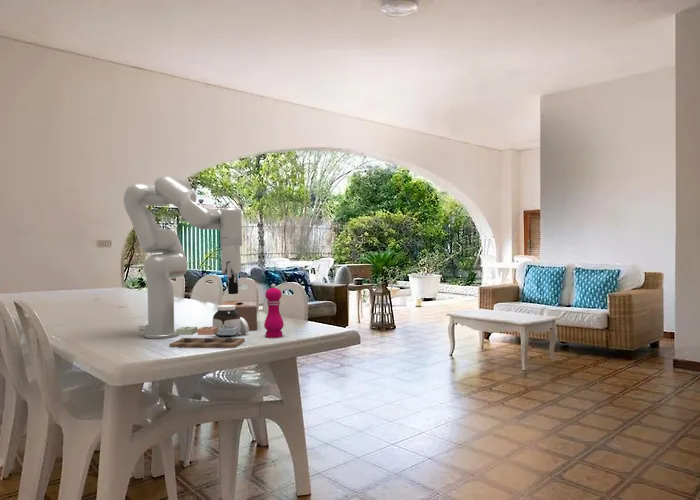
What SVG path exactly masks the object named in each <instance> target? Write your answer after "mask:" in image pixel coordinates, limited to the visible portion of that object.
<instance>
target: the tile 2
mask: <svg viewBox="0 0 700 500" xmlns="http://www.w3.org/2000/svg"><path fill="white" fill-rule="evenodd" d="M216 333H218V327H213V326H201V327H200V328H197V336H215V334H216Z"/></svg>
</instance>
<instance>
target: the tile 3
mask: <svg viewBox="0 0 700 500" xmlns="http://www.w3.org/2000/svg"><path fill="white" fill-rule="evenodd" d="M237 333H238V334H239V333H240V332H239V327H222V328H220V329H219V335H235V334H237ZM238 334H237V335H238Z"/></svg>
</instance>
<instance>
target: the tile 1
mask: <svg viewBox="0 0 700 500" xmlns="http://www.w3.org/2000/svg"><path fill="white" fill-rule="evenodd" d="M197 329H198V326H180V327H179V328H176V329H175V331H176V332H177V336H193V335H195V334H198V332H197Z"/></svg>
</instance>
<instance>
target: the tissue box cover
mask: <svg viewBox="0 0 700 500" xmlns="http://www.w3.org/2000/svg"><path fill="white" fill-rule="evenodd" d="M221 305H235V310H236V311H237V312H238V313H239V315H240V317H242V318H244V319H245V321H246V322H247V324H248V327H249V332H257V331H258V313H257V312H258V309H257V308H258V302H257V299H249V300H248V299H247V300H246V299H245V300H241V299H240V300H224V301H223V302H222V304H221Z"/></svg>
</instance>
